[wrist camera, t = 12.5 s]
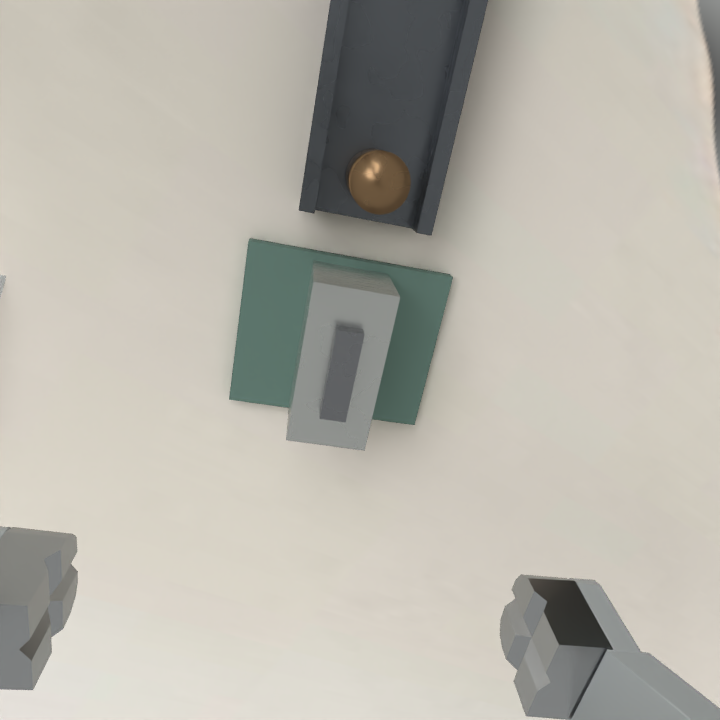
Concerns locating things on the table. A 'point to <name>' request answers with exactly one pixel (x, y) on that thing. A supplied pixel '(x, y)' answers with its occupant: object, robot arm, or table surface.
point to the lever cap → (341, 355)
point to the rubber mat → (285, 318)
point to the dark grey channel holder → (389, 107)
